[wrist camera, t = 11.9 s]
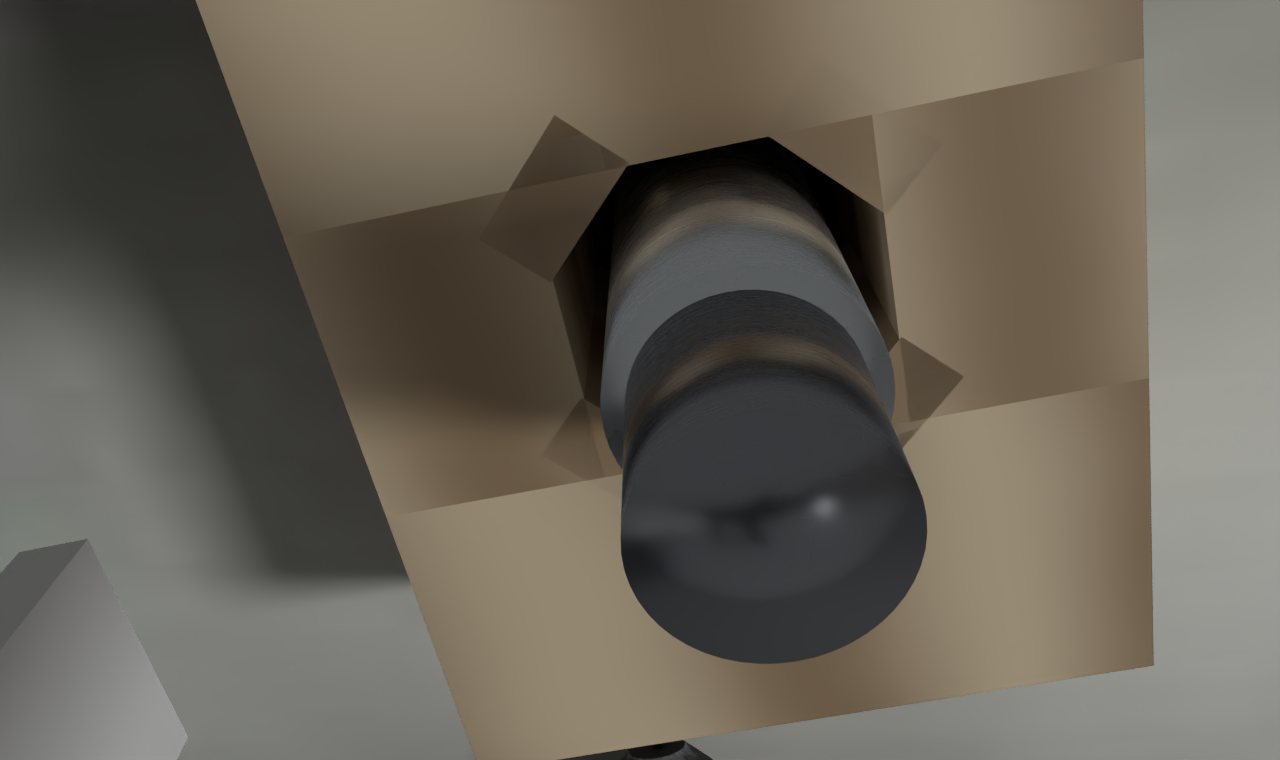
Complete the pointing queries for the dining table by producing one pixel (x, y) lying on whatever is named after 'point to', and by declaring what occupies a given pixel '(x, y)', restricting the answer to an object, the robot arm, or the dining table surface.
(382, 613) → the dining table surface
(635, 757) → the tool
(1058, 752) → the dining table surface
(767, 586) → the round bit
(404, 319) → the bore block
